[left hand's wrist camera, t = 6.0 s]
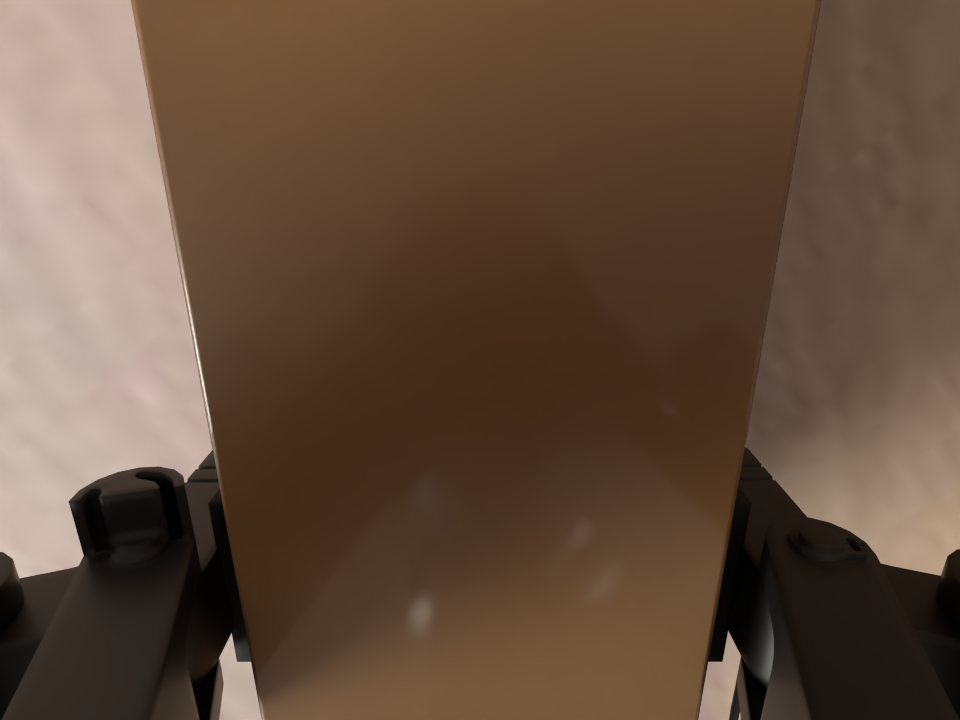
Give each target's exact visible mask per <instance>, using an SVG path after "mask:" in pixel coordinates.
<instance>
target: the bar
mask: <svg viewBox="0 0 960 720" xmlns="http://www.w3.org/2000/svg"><path fill="white" fill-rule="evenodd" d="M131 4H132V9H133V15H134V20H135V25H136V31H137V36H138V42H139V47H140V53H141V58H142V64H143V69H144V75H145V80H146V86H147V91H148V97H149V102H150V108H151V113H152V119H153V124H154V130H155V135H156V141H157V146H158V152H159V157H160V163H161V168H162V174H163V179H164V185H165V190H166V196H167V201H168V207H169V212H170V218H171V223H172V229H173V234H174V240H175V245H176V251H177V256H178V262H179V267H180V273H181V278H182V284H183V289H184V295H185V300H186V306H187V311H188V317H189V322H190V328H191V333H192V339H193V344H194V350H195V355H196V361H197V366H198V372H199V377H200V383H201V388H202V394H203V399H204V405H205V410H206V415H207V421H208V426H209V432H210V437H211V443H212V448H213V454H214V459H215V465H216V470H217V476H218V481H219V487H220V492H221V498H222V503H223V509H224V514H225V520H226V525H227V531H228V536H229V542H230V547H231V553H232V558H233V564H234V569H235V575H236V580H237V586H238V591H239V597H240V602H241V608H242V613H243V619H244V624H245V630H246V635H247V641H248V646H249V652H250V657H251V663H252V668H253V674H254V679H255V685H256V690H257V696H258V701H259V707H260V712H261V718H262V720H698V717H699V711H700V706H701V700H702V694H703V688H704V682H705V676H706V671H707V665H708V659H709V653H710V647H711V641H712V635H713V630H714V624H715V618H716V612H717V606H718V600H719V595H720V589H721V583H722V577H723V571H724V565H725V560H726V554H727V548H728V542H729V536H730V530H731V524H732V519H733V513H734V507H735V501H736V495H737V489H738V484H739V478H740V472H741V466H742V460H743V454H744V449H745V443H746V437H747V431H748V425H749V419H750V413H751V408H752V402H753V396H754V390H755V384H756V378H757V373H758V367H759V361H760V355H761V349H762V343H763V338H764V332H765V326H766V320H767V314H768V308H769V302H770V297H771V291H772V285H773V279H774V273H775V267H776V262H777V256H778V250H779V244H780V238H781V232H782V227H783V221H784V215H785V209H786V203H787V197H788V191H789V186H790V180H791V174H792V168H793V162H794V156H795V151H796V145H797V139H798V133H799V127H800V121H801V116H802V110H803V104H804V98H805V92H806V86H807V80H808V75H809V69H810V63H811V57H812V51H813V45H814V40H815V34H816V28H817V22H818V16H819V10H820V5H821V0H131Z"/></svg>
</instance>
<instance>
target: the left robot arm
mask: <svg viewBox="0 0 960 720" xmlns="http://www.w3.org/2000/svg"><path fill="white" fill-rule="evenodd" d="M69 504H70V508H71V511H72V515H73V518H74V522H75V525H76V529H77V533H78V536H79V540H80V543H81V547H82V551H83V554H84V557H83V559H82V561H81V563H80V565H79V566H78V567H74V568H70V569H65V570H60V571H55V572H50V573H45V574H40V575H35V576H30V577H25V578H20V579H19V577H18V574H17V571H16V568H15V565H14V562H13V559H12V558H10V557H9V556H8V555H6V554H5V553H3V552H0V720H219V715H220V707H221V699H222V692H223V677H222V670H221V665H220V660H219V657H220V655H221V653H222V651H223V649H224V647H225V645H226V643H227V641H228V639H229V637H230V635H231V633H232V636H233V642H234V647H235V652H236V658H237V662H251V657H250V652H249V646H248V641H247V635H246V630H245V624H244V619H243V613H242V608H241V602H240V597H239V591H238V586H237V580H236V575H235V569H234V564H233V558H232V553H231V547H230V542H229V536H228V531H227V525H226V520H225V514H224V509H223V503H222V498H221V492H220V487H219V481H218V476H217V470H216V465H215V459H214V454H213V451H212V452H211V453H210V454H209V455H208V456H207V457H206V458H205V460H204V461H203V462H202V463H201V464H200V465H199V469H196V470H195V471H194V472H193V474H192V475H191V476H190V477H189V478H188V482H187V483H184V478H183V476H182V475H181V474H180V473H178V472H177V471H175V470H174V469H168V468H163V467H143V468H136V469H131V470H126V471H121V472H117V473H115V474H112V475H109V476H107V477H104V478H101V479H99V480H96V481H95V482H93V483H91V484H90V485H88V486H86V487H84V488H83V489H81V490H80V491H79V492H78V493H77V494H76V495H75V496H74V497H73V498H72V499H71V500H70V501H69ZM728 631H729V633H730V635H731V637H732V639H733V641H734V643H735V645H736V646H737V648H738V650H739V652H740V654H741V660H740V665H739V670H738V675H737V680H736V685H735V690H734V695H733V700H732V705H731V710H730V717H729V720H738V718H739V713H740V714H741V720H960V549H958V550H956V551H954V552H953V553H951V554H950V555H949V556H948V557H947V560H946V563H945V566H944V569H943V572H942V575H941V576H939V575H933V574H928V573H923V572H918V571H913V570H908V569H903V568H898V567H893V566H889V565H885V564H881V563H880V562H879V560H878V558H877V556H876V554H875V553H874V552H873V551H872V549H871V548H870V547H869V546H868V545H867V543H866V542H864V541H863V540H861V539H860V538H859V537H857V536H856V535H854V534H853V533H851V532H850V531H848V530H845V529H843V528H841V527H838V526H836V525H834V524H832V523H829V522H825V521H821V520H817V519H813V518H807V516H806V515H805V514H804V513H803V512H802V511H801V509H800V508H799V507H798V506H797V505H796V504H795V503H794V501H793V500H792V499H791V498H790V497H789V496H788V495H787V493H786V492H785V491H784V490H783V489H782V488H781V486H780V485H779V484H778V483H777V482H776V481H775V480H772V476H771V475H770V474H769V473H768V471H767V470H766V469H765V468H764V467H761V463H760V462H759V461H758V460H757V459H756V458H755V457H754V455H753V454H752V453H751V452H750V451H749V450H748V449H747V448H746V447H745V449H744V454H743V460H742V466H741V472H740V478H739V484H738V489H737V495H736V501H735V507H734V513H733V519H732V524H731V530H730V536H729V542H728V548H727V554H726V560H725V565H724V571H723V577H722V583H721V589H720V595H719V600H718V606H717V612H716V618H715V624H714V630H713V635H712V641H711V647H710V653H709V659H708V662H722V661H723V655H724V650H725V644H726V639H727V634H728Z"/></svg>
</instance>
